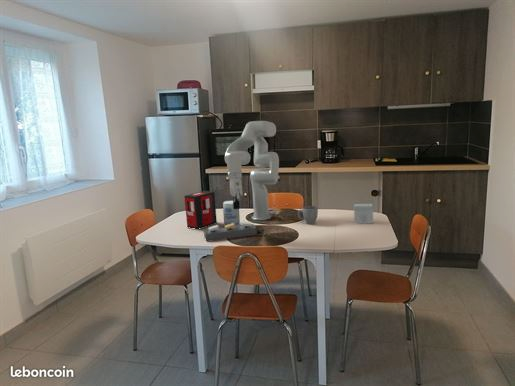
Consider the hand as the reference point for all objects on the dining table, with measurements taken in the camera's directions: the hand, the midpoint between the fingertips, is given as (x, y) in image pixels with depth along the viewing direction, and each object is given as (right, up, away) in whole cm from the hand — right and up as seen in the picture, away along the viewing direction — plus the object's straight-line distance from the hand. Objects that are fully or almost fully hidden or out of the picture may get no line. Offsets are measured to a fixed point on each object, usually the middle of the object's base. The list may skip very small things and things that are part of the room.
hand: (236, 208), depth 210 cm
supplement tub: (-4, -11, +23) cm, 26 cm away
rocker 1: (-12, -11, -1) cm, 17 cm away
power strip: (-1, -15, +3) cm, 15 cm away
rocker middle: (-4, -10, +2) cm, 11 cm away
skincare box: (+74, -9, +15) cm, 76 cm away
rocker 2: (+5, -9, +4) cm, 11 cm away
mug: (+42, -10, +19) cm, 47 cm away
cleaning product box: (-23, -12, +27) cm, 37 cm away
